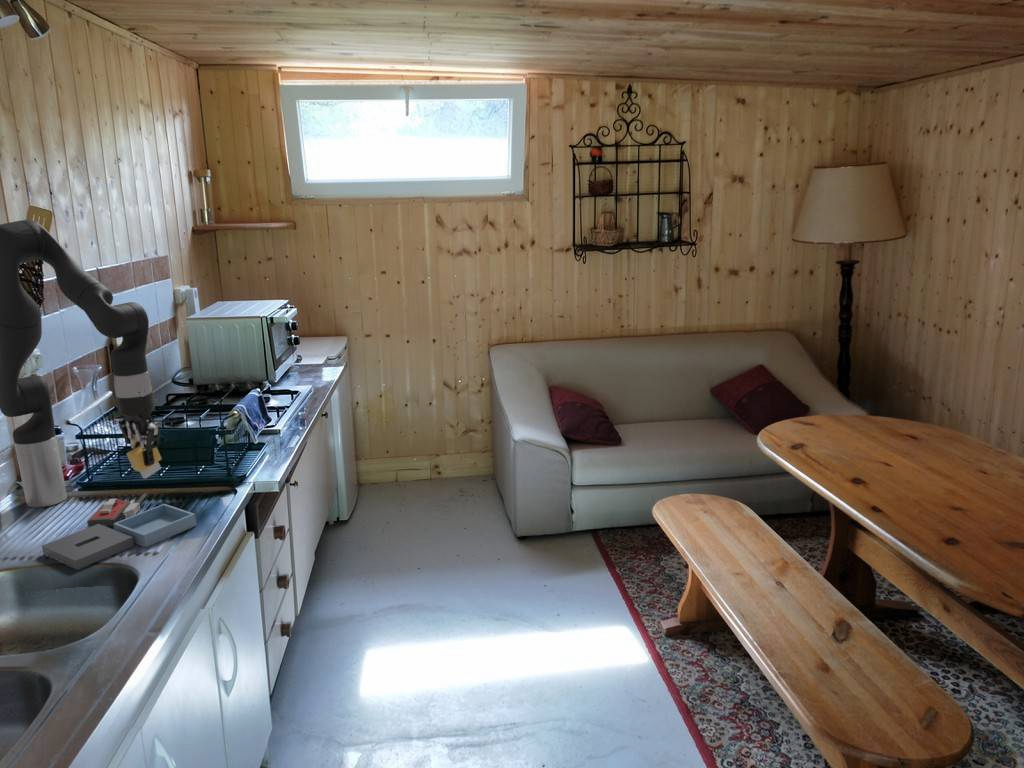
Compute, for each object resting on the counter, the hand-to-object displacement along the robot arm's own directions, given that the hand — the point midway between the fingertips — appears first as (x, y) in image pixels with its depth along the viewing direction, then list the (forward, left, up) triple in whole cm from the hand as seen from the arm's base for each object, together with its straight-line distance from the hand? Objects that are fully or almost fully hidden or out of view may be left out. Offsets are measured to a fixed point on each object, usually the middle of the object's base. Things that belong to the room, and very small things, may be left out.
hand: (145, 463), depth 181 cm
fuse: (0, +1, -3) cm, 3 cm away
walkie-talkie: (-17, +1, -18) cm, 25 cm away
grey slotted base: (-4, -14, -17) cm, 22 cm away
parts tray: (0, 0, -17) cm, 17 cm away
